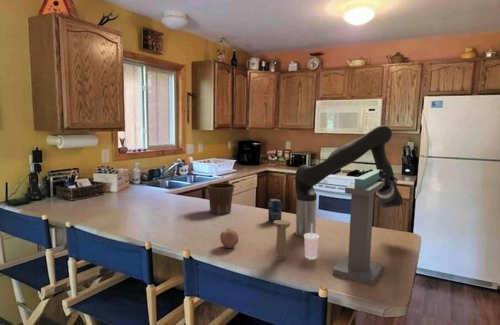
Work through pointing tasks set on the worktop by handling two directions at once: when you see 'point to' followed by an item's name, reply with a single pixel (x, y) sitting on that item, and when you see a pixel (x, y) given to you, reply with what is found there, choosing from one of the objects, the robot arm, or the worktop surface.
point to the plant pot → (220, 197)
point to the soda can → (274, 210)
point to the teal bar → (367, 179)
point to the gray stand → (360, 237)
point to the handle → (281, 238)
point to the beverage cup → (311, 244)
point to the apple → (229, 238)
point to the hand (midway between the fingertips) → (375, 171)
